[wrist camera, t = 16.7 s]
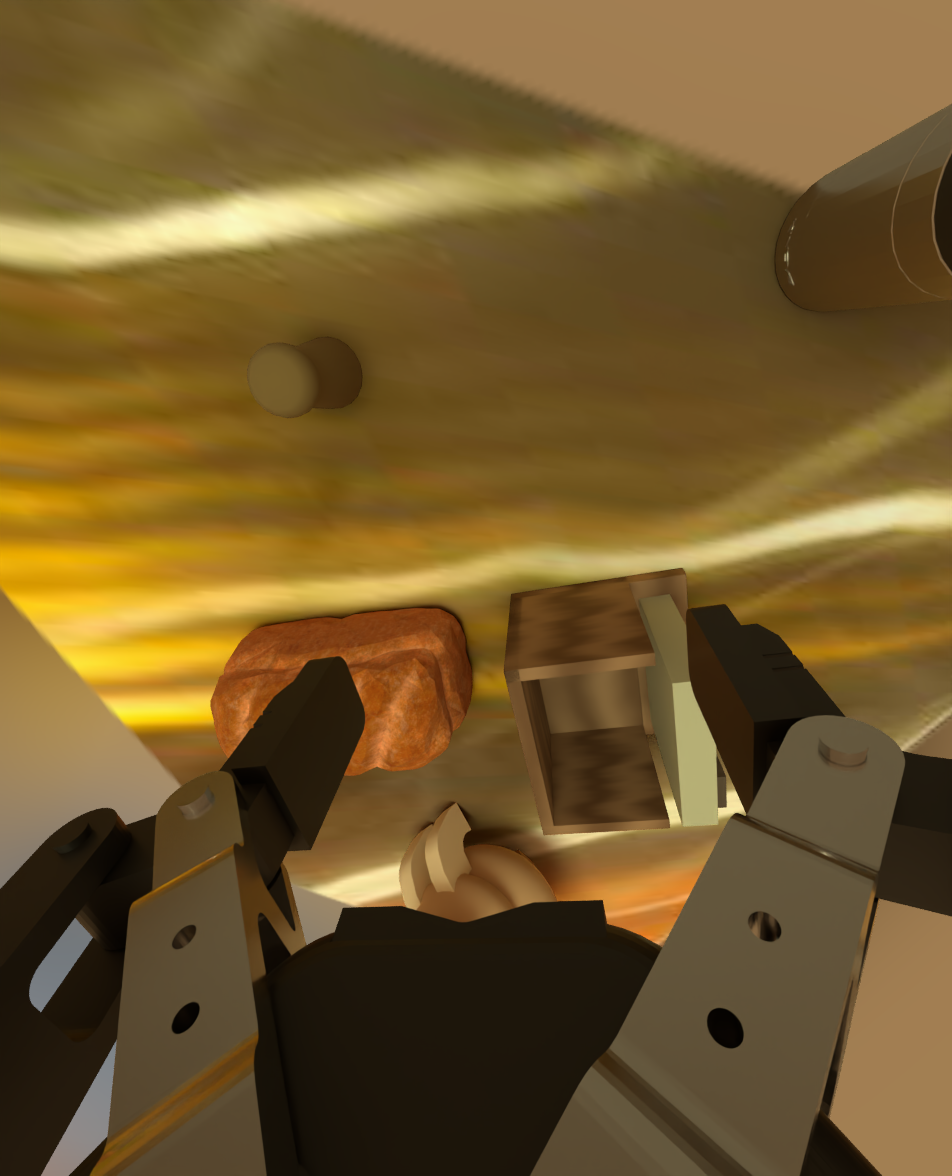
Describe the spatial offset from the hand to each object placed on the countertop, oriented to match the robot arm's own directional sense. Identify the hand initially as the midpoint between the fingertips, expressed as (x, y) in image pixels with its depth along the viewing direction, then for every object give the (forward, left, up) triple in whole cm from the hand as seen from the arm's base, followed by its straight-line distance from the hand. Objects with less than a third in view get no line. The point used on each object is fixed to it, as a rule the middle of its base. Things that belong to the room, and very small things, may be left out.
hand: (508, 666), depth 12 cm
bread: (+24, +23, -38) cm, 51 cm away
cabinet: (-4, +27, -38) cm, 47 cm away
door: (-9, +27, -37) cm, 46 cm away
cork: (+17, -8, -38) cm, 43 cm away
